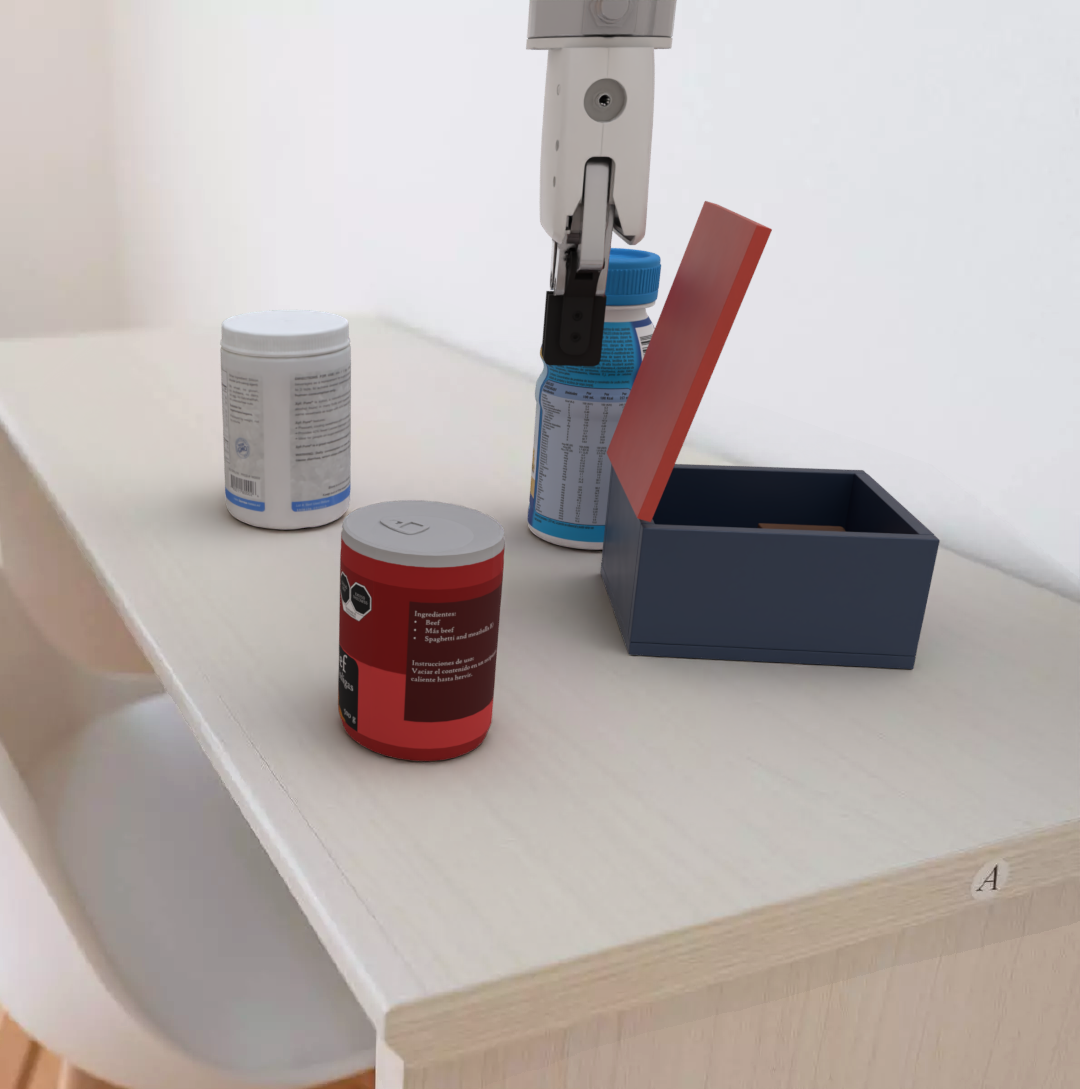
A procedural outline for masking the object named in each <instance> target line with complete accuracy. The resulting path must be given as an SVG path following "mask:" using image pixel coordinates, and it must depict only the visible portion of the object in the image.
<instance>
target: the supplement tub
mask: <svg viewBox="0 0 1080 1089" xmlns="http://www.w3.org/2000/svg"><path fill="white" fill-rule="evenodd" d="M220 332H221V339H220V342H219V345H220V350H219V351H220V383H221V410H222V415H221V416H222V438H223V439H222V440H223V441H222V442H223V465H224V466H223V467H224V468H223V469H224V470H223V471H224V494H225V506H226V509H227V511H228V512H229V514H230V515H231V516H232V517H233V518H235V519H236V520H238V521H240V522H242V523H244V524H248V525H250V526H253V527H257V528H263V529H270V530H285V531H286V530H299V529H304V528H305V529H306V528H316V527H320V526H324V525H327V524H330V523H332V522H334V521H337V520H338V519H340V518H341V517H342V516H343V515H345V513H346V512H347V511H348V509H349V507H350V504H351V484H352V483H351V481H352V480H351V478H352V477H351V475H352V474H351V469H352V467H351V466H352V464H351V462H352V461H351V460H352V456H351V455H352V454H351V453H352V452H351V450H352V449H351V448H352V447H351V446H352V445H351V444H352V440H351V439H352V436H351V435H352V346H351V338H350V334H349V333H350V324H349V320H348V319H347V318H346V317H345V316H342V315H340V314H337V313H333V312H327V311H321V310H312V309H311V310H310V309H309V310H307V309H272V310H270V309H269V310H263V311H262V310H259V311H251V312H245V313H240V314H235V315H233V316H230V317H228V318H225V319H224V320H223V321H222V322H221V331H220Z"/></svg>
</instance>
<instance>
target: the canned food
mask: <svg viewBox="0 0 1080 1089" xmlns="http://www.w3.org/2000/svg"><path fill="white" fill-rule="evenodd" d="M505 546H506V540H505V529H504V526H503V525H502V524H501V523H500V522H499V521H498V520H497V519H495V518H494V517H492V516H490V515H488V514H487V513H484V512H481V511H479V510H477V509H473V508H471V507H467V506H464V505H459V504H455V503H449V502H444V501H435V500H424V499H423V500H418V499H417V500H416V499H405V500H390V501H382V502H381V501H380V502H377V503H373V504H368V505H365V506H362V507H359V508H357V509H355V510H353V511H350V512H349V513H348V514H347V515H346V516H345V517H344V519H343V521H342V529H341V533H340V553H339V555H340V556H339V607H338V608H339V614H338V618H339V619H338V673H337V674H338V679H337V680H338V682H337V684H338V685H337V709H338V715H339V717H340V720H341V723H342V726H343V728H344V730H345V732H346V734H347V735H348V736H349V737H350V738H351V739H352V740H353V741H355V742H356V743H357V744H359V745H361V747H364V748H366V749H368V750H370V751H371V752H374V753H377V754H379V755H382V756H385V757H389V758H393V759H398V760H404V761H411V762H412V761H413V762H436V761H445V760H449V759H455V758H458V757H461V756H464V755H466V754H468V753H470V752H472V751H474V750H475V749H477V748H478V747H479V746H481V744H482V743H483V742H484V741H485V738H486V737H487V734H488V732H489V730H490V727H491V725H492V722H493V709H494V698H495V697H494V696H495V685H496V684H495V681H496V670H497V659H498V658H497V657H498V644H499V631H500V618H501V605H502V593H503V592H502V591H503V581H504V580H503V578H504V566H505Z"/></svg>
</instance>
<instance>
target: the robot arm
mask: <svg viewBox="0 0 1080 1089" xmlns="http://www.w3.org/2000/svg"><path fill="white" fill-rule="evenodd" d="M676 9H677V0H529V1H528V15H527V29H526V30H527V31H526V38H527V39H526V44H525V45H526V46H525V50H527V51H530V50H531V51H534V50H535V51H547V60H546V70H545V71H546V73H545V83H544V84H545V85H544V96H543V97H544V99H543V113H542V125H541V126H542V128H541V143H540V159H539V160H540V162H539V222H540V226H541V227H542V229H543V230H544V232H545V233H546V234H547V235H548V236H549V237H550V238H551V256H550V272H549V290H546V292H545V303H544V316H543V327H542V328H543V330H542V339H541V340H542V341H541V345H542V352H541V353H542V357H543V359H544V362H545V363H546V364H547V365H558V366H596V365H598V364H599V363H600V360H601V351H602V341H603V330H604V320H605V310H606V299H607V296H606V295H605V290H606V282H607V273H608V265H609V257H610V250H611V248H612V241H613V240H612V239H613V233H614V234H615V235H616V236H618V237H619V238H620V239H621V240H622V241H623V242H625V244H627V245H629V246H636V245H637V244H639V243H640V242H641V241H642V240H643V239H644V238H645V236H646V232H647V231H646V230H647V218H648V217H647V215H648V202H649V201H648V200H649V184H650V173H651V172H650V171H651V159H652V158H651V155H652V143H653V128H654V111H655V82H656V81H655V80H656V79H655V78H656V77H655V74H656V72H655V70H656V69H655V66H656V64H655V50H670V49H671V50H672V46H673V37H674V29H675V28H674V27H675V19H676Z"/></svg>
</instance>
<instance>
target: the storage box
mask: <svg viewBox="0 0 1080 1089" xmlns="http://www.w3.org/2000/svg"><path fill="white" fill-rule="evenodd" d="M759 523H764V524H790V525H816V526H841V527H843V528H844V529H845V531H846V532H840V531H814V530H788V529H762V528H757V527H758V524H759ZM940 541H941V540H940V539H939V538H938V537H937V536H936V535H935V533H933V532H932V531H931V530H930V529H929V528H928V527H927V526H926V525H924V524H923V523H922V522H921V520H919V519H918V518H917V517H916V516H915V515H913V513H911V512H910V511H909V510H908V509H907V508H906V507H905V506H904V505H902V504H901V503H900V502H899V501H898V500H897V499H896V498H895V497H894V496H893V495H892V494H891V493H889V492H888V491H887V490H886V489H885V488H884V487H883V486H882V485H881V484H880V483H879V482H878V481H877V480H875V478H873V477H872V476H871V475H870V474H868V473H867V472H866V471H865V470H864V469H841V468H838V469H837V468H812V467H811V468H809V467H780V466H752V465H751V466H750V465H749V466H747V465H723V464H722V465H720V464H693V463H691V464H688V463H675V465H674V467H673V470H672V472H671V475H670V477H669V479H668V482H667V484H666V487H665V489H664V492H663V494H662V496H661V499H660V501H659V504H658V506H657V508H656V511H655V513H654V516H653V518H652V520H651V522H648V521H645V520H641V519H638V518H637V517H636V515H635V512H634V510H633V508H632V506H631V504H630V502H629V500H628V498H627V495H626V493H625V491H624V489H623V487H622V485H621V483H620V481H619V478H618V476H617V474H616V472H615V470H614V468H613V466H612V464H611V473H610V483H609V492H608V502H607V512H606V521H605V531H604V541H603V549H602V553H601V560H600V561H601V562H600V568H599V569H600V570H599V574H600V577H601V578H602V582H603V585H604V587H605V590H606V593H607V596H608V599H609V601H610V602H609V603H610V605H611V607H612V610H613V613H614V617H615V619H616V622H617V625H618V628H619V632H620V633H621V637H622V639H623V642H624V645H625V649H626V651H627V654H628V655H629V656H645V657H647V656H648V657H663V658H665V657H668V658H683V659H685V658H686V659H688V658H689V659H703V660H704V659H705V660H724V661H745V662H763V663H764V662H765V663H783V664H784V663H785V664H786V663H787V664H801V665H802V664H803V665H804V664H805V665H822V666H823V665H824V666H842V667H843V666H844V667H860V668H861V667H864V668H882V669H883V668H884V669H900V670H902V669H903V670H913V669H914V668H915V663H916V662H915V661H916V658H917V657H916V656H917V653H918V652H917V651H918V648H919V642H920V637H921V633H922V628H923V623H924V618H925V613H926V608H927V604H928V599H929V594H930V589H931V584H932V579H933V575H934V570H935V566H936V560H937V556H938V551H939V546H940Z"/></svg>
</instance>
